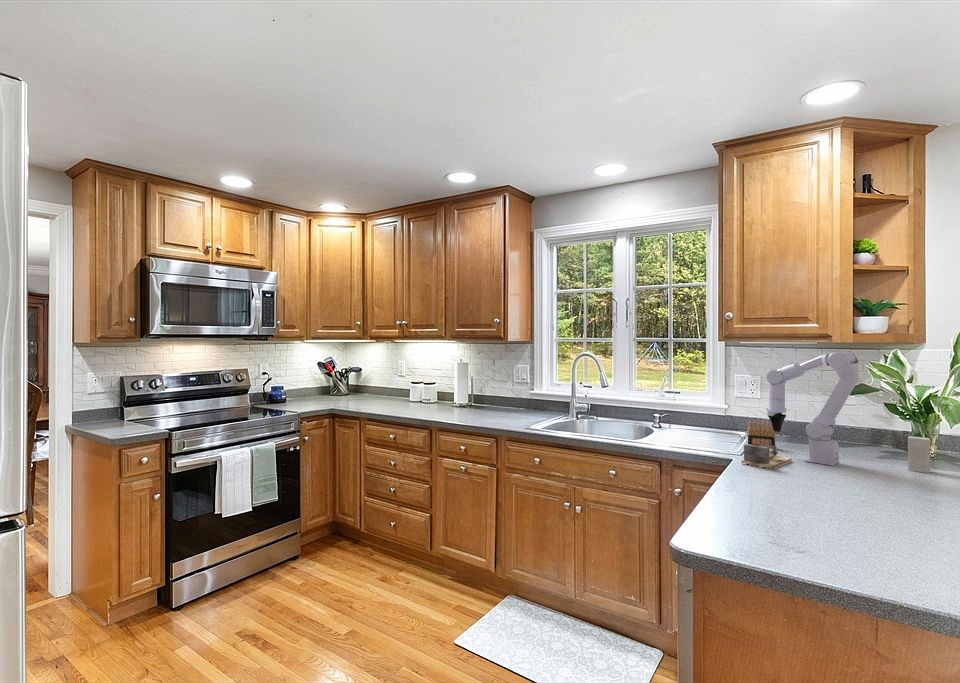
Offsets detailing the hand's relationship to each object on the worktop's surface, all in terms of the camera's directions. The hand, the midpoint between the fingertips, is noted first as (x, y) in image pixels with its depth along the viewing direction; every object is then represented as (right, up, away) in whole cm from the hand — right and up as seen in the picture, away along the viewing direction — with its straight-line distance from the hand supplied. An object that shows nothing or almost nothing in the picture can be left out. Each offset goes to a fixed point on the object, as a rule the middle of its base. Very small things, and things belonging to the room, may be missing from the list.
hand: (777, 431), depth 214 cm
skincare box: (+35, -10, -28) cm, 46 cm away
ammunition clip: (+1, -10, +14) cm, 17 cm away
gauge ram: (-12, -7, -14) cm, 20 cm away
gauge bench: (-12, -10, -14) cm, 21 cm away
